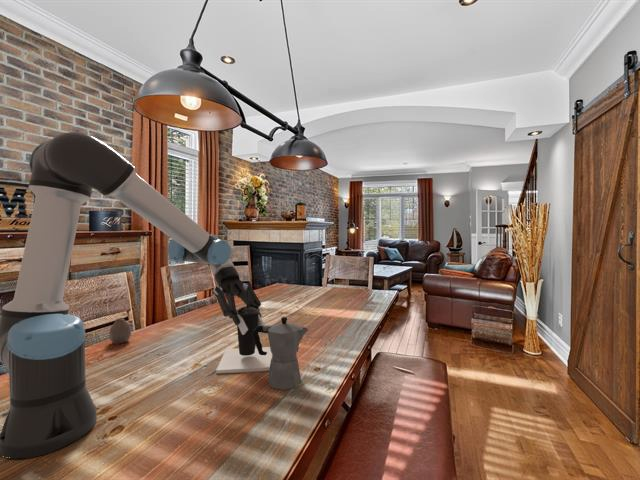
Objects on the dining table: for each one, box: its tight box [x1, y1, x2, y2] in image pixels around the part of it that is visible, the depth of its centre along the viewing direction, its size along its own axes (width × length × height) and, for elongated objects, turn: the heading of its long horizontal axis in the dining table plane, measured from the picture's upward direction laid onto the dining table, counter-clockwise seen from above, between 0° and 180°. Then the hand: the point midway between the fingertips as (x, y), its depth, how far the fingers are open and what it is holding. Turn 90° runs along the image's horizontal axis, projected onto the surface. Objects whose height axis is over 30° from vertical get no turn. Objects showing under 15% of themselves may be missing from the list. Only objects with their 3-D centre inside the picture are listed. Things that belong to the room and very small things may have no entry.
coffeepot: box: [252, 316, 309, 391], centre depth 84 cm, size 15×9×18 cm, turn 89°
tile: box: [215, 346, 272, 374], centre depth 98 cm, size 16×16×1 cm
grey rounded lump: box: [108, 317, 132, 345], centre depth 114 cm, size 7×7×9 cm
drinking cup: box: [236, 290, 261, 356], centre depth 98 cm, size 8×8×20 cm
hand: (253, 329), depth 95 cm, fingers closed on drinking cup, 6 cm apart
